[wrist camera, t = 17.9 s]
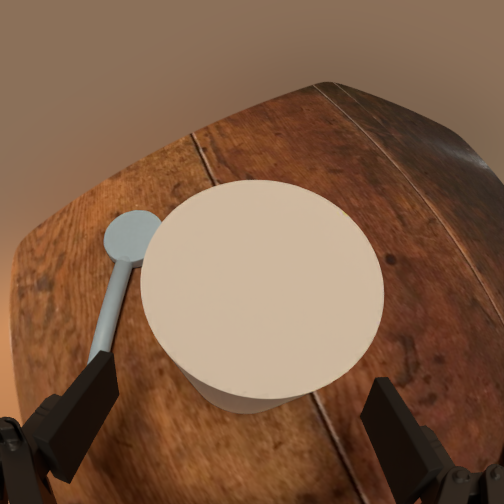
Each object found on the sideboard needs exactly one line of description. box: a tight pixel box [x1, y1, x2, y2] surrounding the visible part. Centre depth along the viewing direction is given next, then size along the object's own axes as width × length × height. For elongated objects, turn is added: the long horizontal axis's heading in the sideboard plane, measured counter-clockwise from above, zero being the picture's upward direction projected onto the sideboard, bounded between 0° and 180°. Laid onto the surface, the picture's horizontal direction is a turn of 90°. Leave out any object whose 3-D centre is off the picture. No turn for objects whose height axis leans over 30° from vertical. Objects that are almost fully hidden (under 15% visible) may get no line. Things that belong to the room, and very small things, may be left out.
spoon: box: [87, 210, 162, 365], centre depth 20 cm, size 17×5×1 cm, turn 175°
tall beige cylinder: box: [141, 180, 384, 414], centre depth 15 cm, size 8×8×12 cm
